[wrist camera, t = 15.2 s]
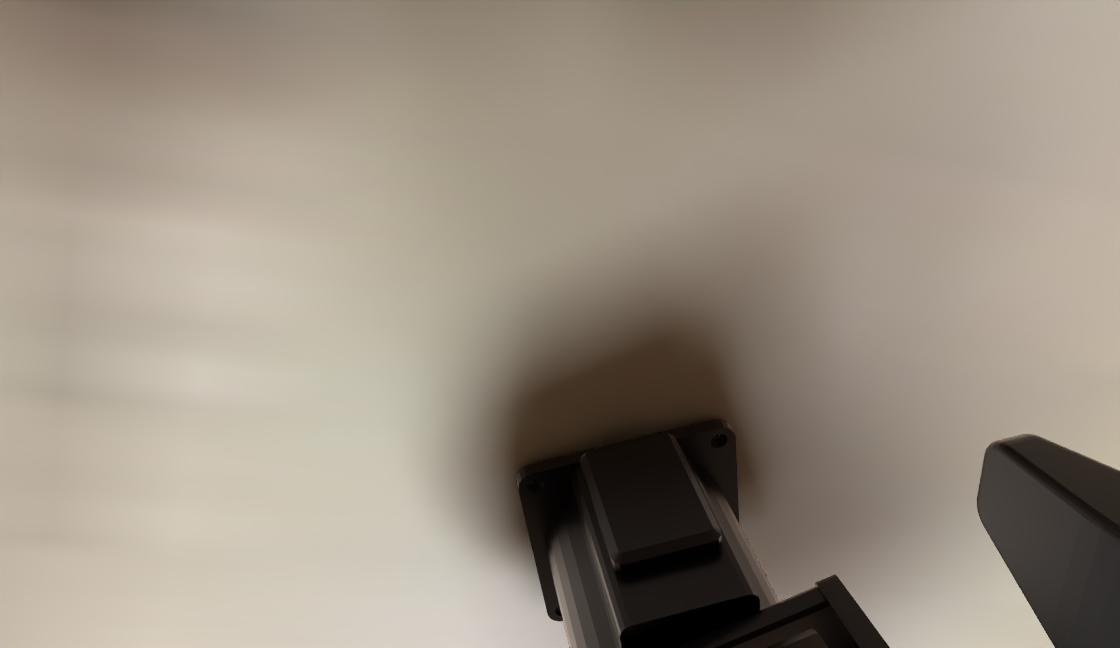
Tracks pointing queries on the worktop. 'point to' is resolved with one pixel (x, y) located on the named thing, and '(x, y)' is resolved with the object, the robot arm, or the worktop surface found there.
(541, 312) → the worktop surface
